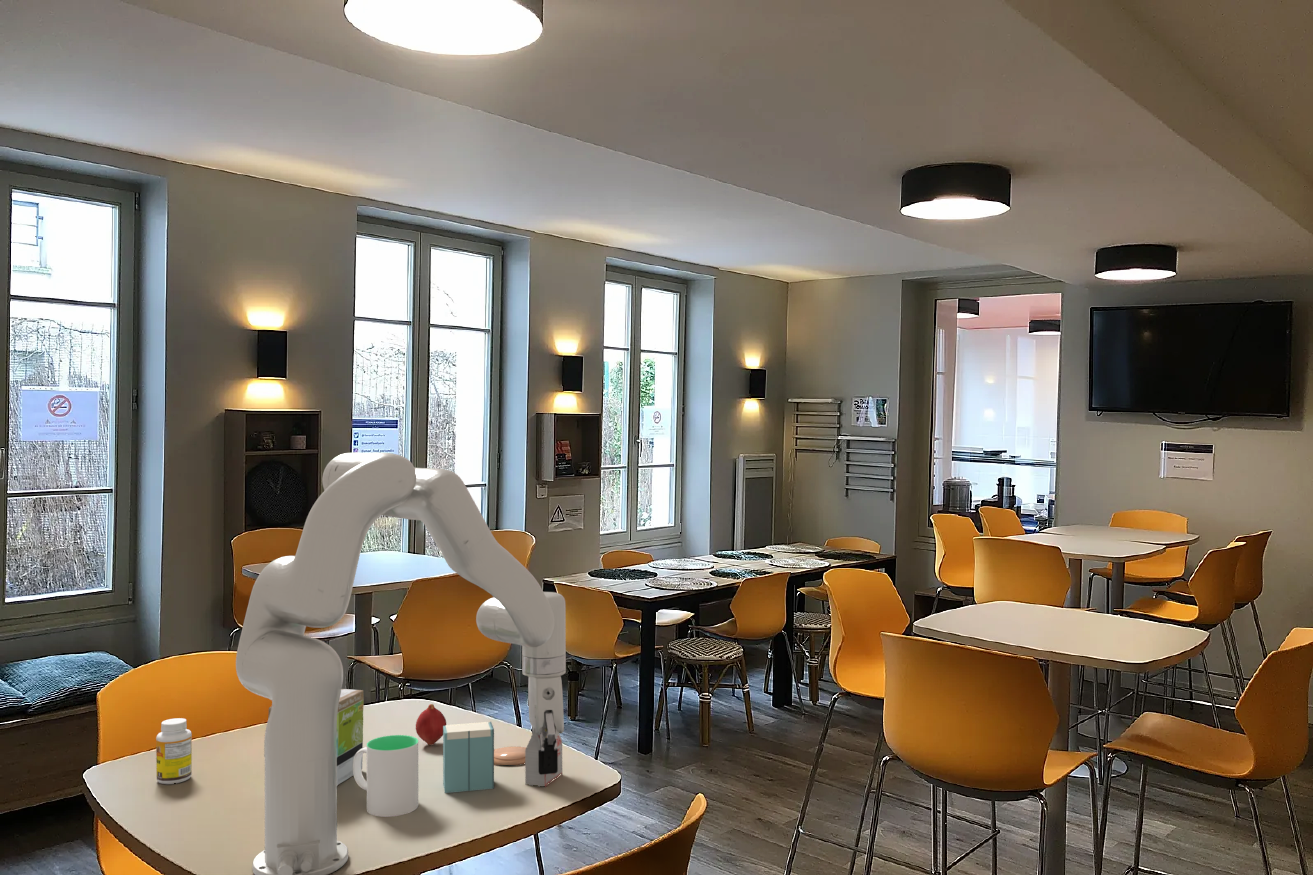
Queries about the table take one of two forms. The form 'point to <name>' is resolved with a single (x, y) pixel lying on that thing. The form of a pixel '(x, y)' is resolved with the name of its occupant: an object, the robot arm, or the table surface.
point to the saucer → (509, 756)
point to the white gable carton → (532, 761)
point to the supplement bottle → (174, 752)
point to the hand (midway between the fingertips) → (544, 764)
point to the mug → (389, 775)
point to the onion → (430, 725)
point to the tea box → (348, 731)
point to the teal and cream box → (468, 757)
